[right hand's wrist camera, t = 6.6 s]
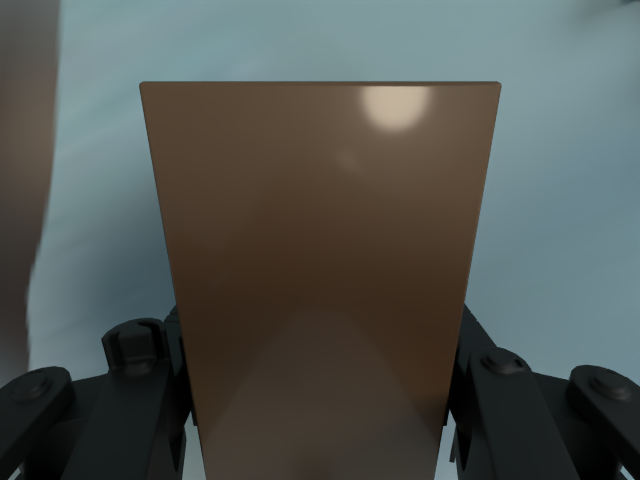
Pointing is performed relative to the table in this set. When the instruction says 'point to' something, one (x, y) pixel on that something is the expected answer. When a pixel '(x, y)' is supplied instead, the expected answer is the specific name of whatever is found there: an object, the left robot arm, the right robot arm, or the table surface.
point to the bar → (320, 265)
